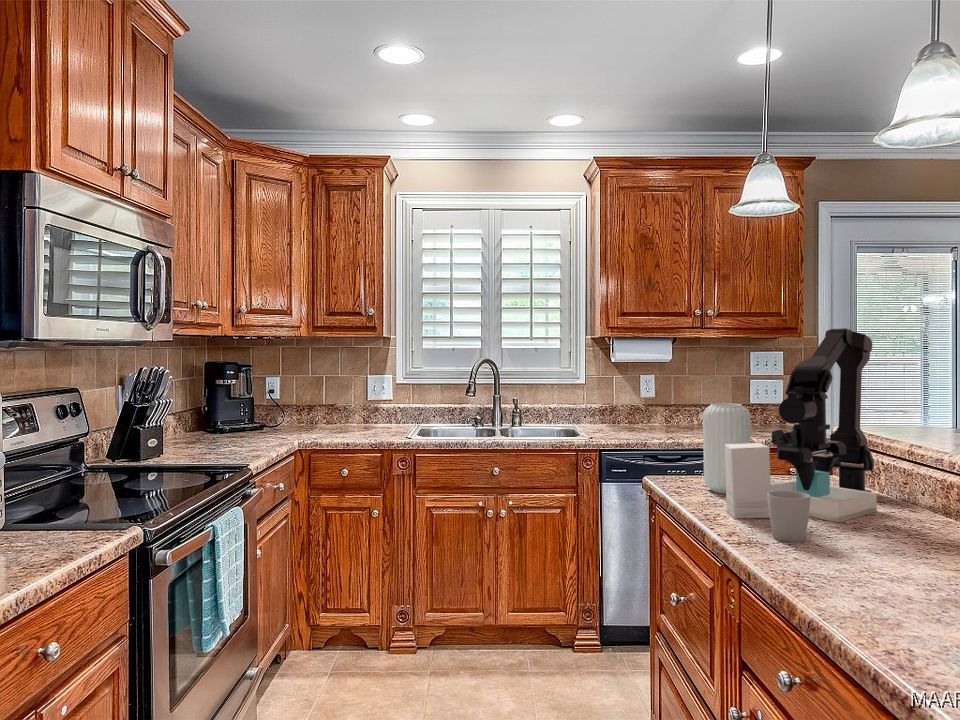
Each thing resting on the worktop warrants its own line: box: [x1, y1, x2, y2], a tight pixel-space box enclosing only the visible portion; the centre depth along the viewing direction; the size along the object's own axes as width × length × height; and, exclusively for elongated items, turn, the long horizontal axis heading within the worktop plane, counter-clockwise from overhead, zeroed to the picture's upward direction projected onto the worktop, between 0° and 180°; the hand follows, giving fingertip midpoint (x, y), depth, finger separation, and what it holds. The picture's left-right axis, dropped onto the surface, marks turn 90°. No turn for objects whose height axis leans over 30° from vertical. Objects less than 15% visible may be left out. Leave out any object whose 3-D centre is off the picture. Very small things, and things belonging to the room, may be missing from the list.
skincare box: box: [725, 442, 772, 520], centre depth 150 cm, size 8×7×16 cm
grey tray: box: [771, 479, 878, 523], centre depth 155 cm, size 16×20×4 cm
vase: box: [702, 403, 752, 495], centre depth 176 cm, size 12×12×22 cm
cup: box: [767, 491, 810, 543], centre depth 132 cm, size 8×10×8 cm
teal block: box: [795, 470, 831, 497], centre depth 155 cm, size 5×5×5 cm
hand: (812, 488), depth 155 cm, fingers closed on teal block, 5 cm apart
